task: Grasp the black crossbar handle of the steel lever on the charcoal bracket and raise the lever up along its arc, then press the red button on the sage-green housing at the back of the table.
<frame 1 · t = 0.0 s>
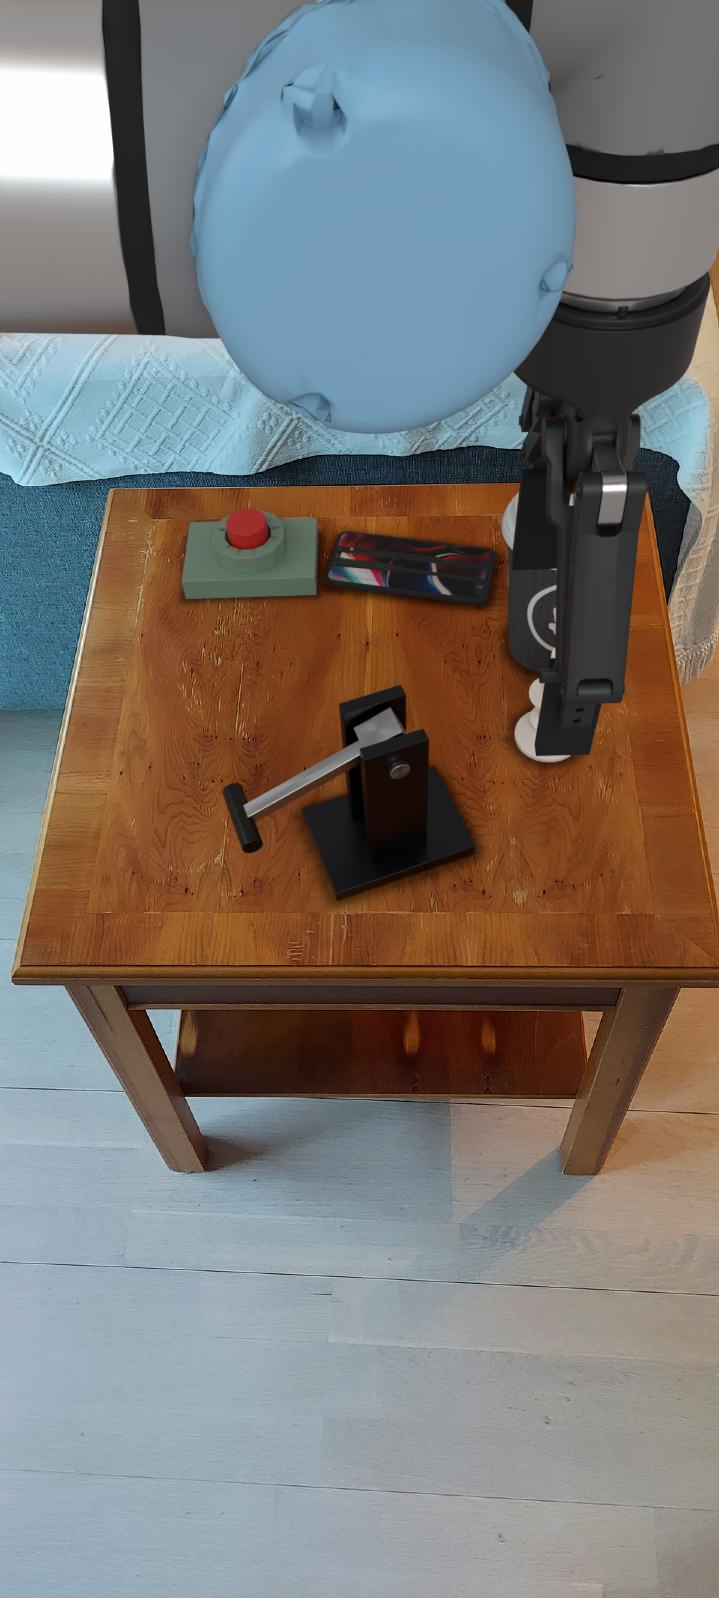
hand: (547, 651, 55), 23 cm above the table, tool pointing down, fingers open, 13 cm apart
smartphone: (410, 571, 92), on the table
candle: (546, 738, 81), on the table
button: (247, 529, 90), point 4 cm above the table, slide at 0.1 cm
coffee cup: (545, 646, 86), on the table
lever: (316, 775, 67), point 10 cm above the table, hinge at -20.0°
button box: (253, 566, 93), on the table
bracket: (387, 835, 76), on the table
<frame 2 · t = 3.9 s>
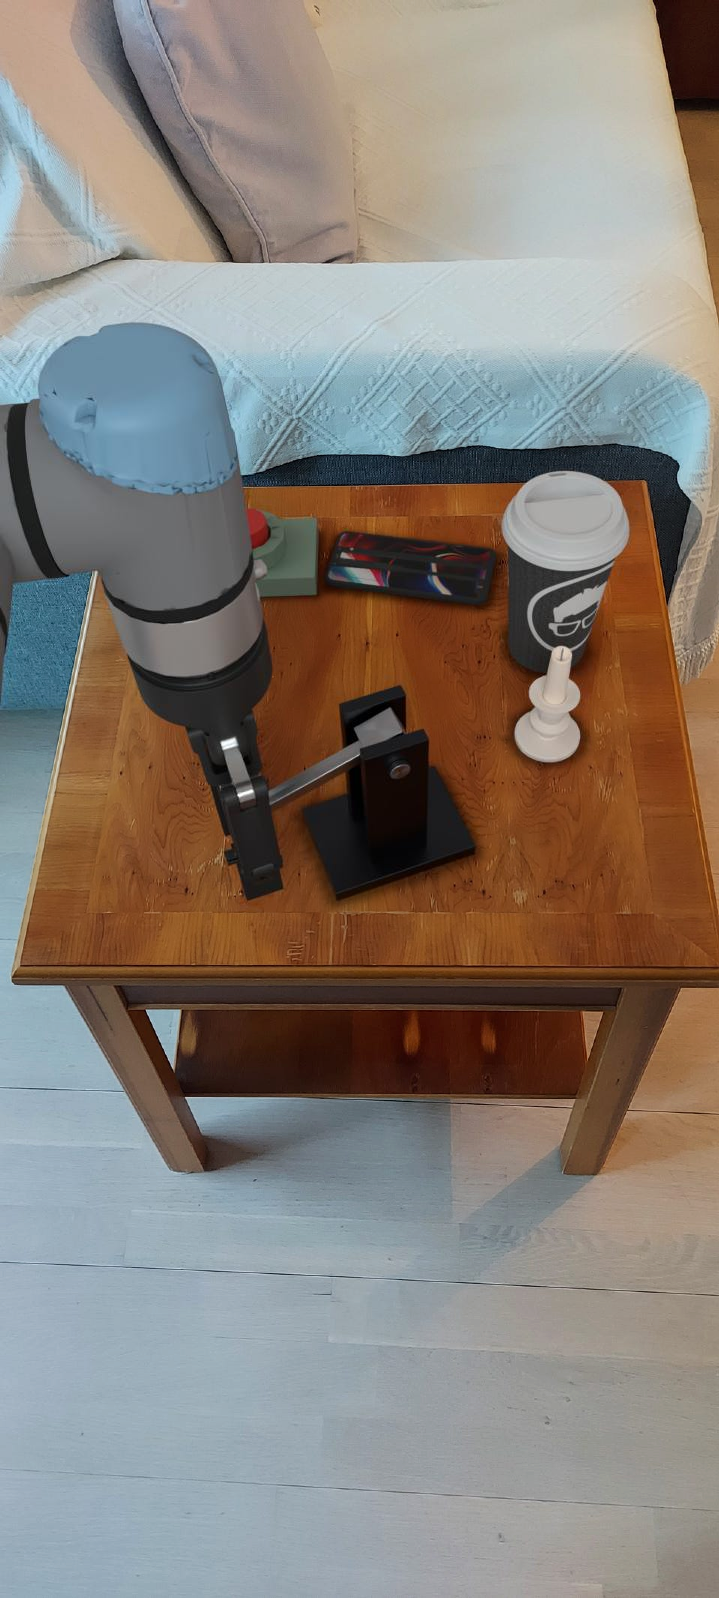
hand: (252, 857, 72), 3 cm above the table, tool pointing down, fingers closed on lever, 5 cm apart
lever: (316, 775, 67), point 10 cm above the table, hinge at -20.0°, touching gripper
everything else where it was.
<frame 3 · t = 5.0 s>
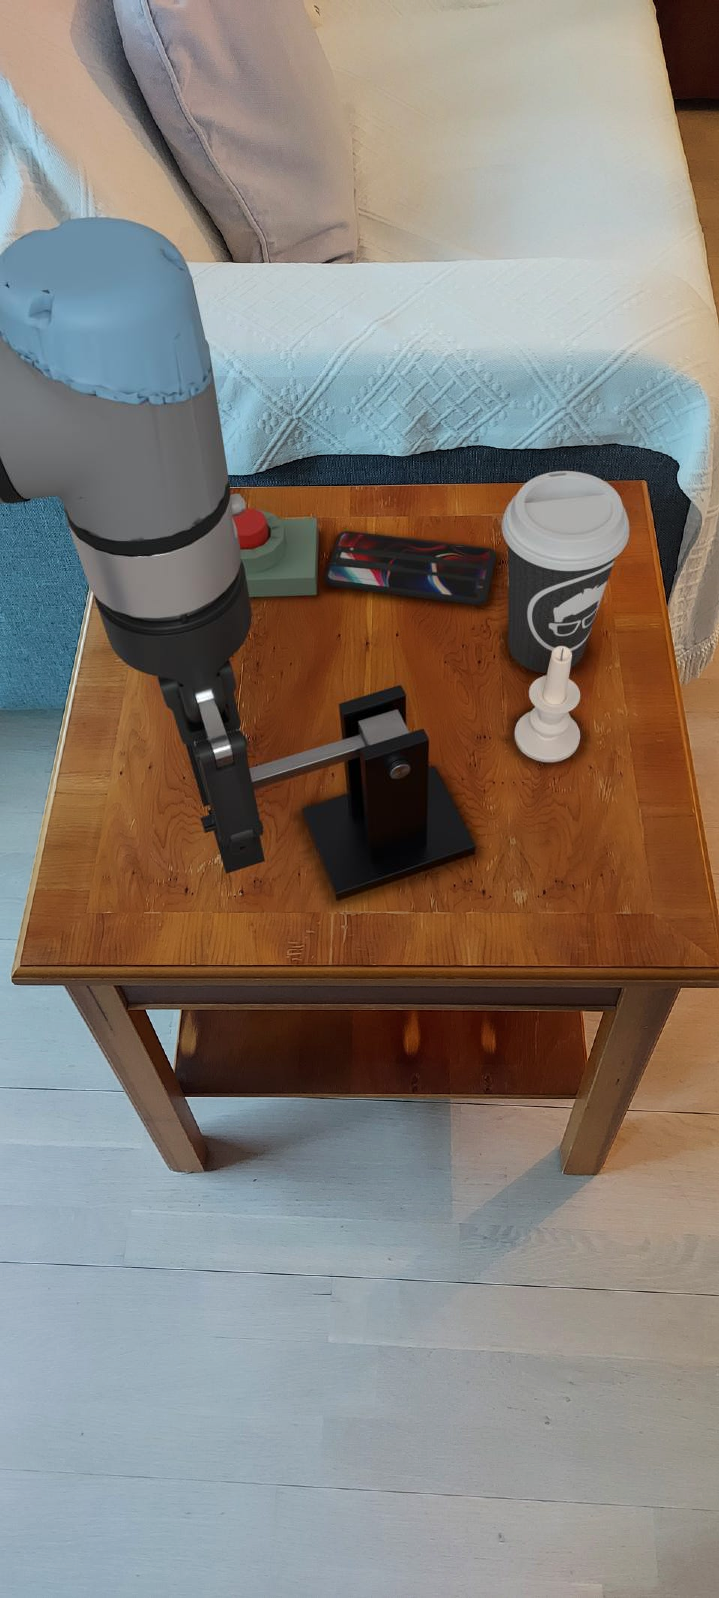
hand: (232, 828, 68), 7 cm above the table, tool pointing down, fingers closed on lever, 5 cm apart
lever: (310, 761, 65), point 12 cm above the table, hinge at 0.6°, touching gripper
everything else where it was.
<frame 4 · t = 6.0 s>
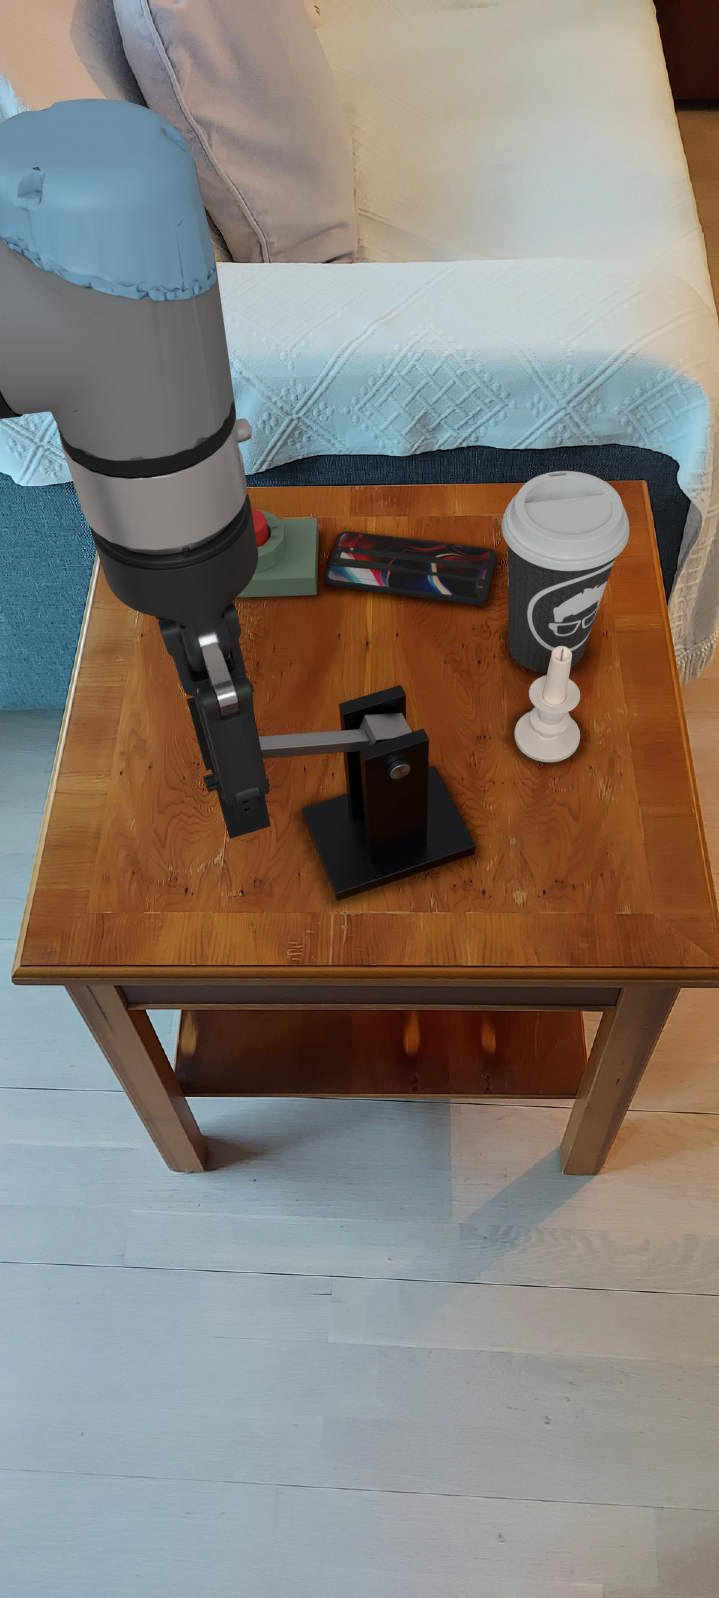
hand: (236, 793, 65), 11 cm above the table, tool pointing down, fingers closed on lever, 5 cm apart
lever: (312, 743, 64), point 14 cm above the table, hinge at 19.9°, touching gripper
everything else where it was.
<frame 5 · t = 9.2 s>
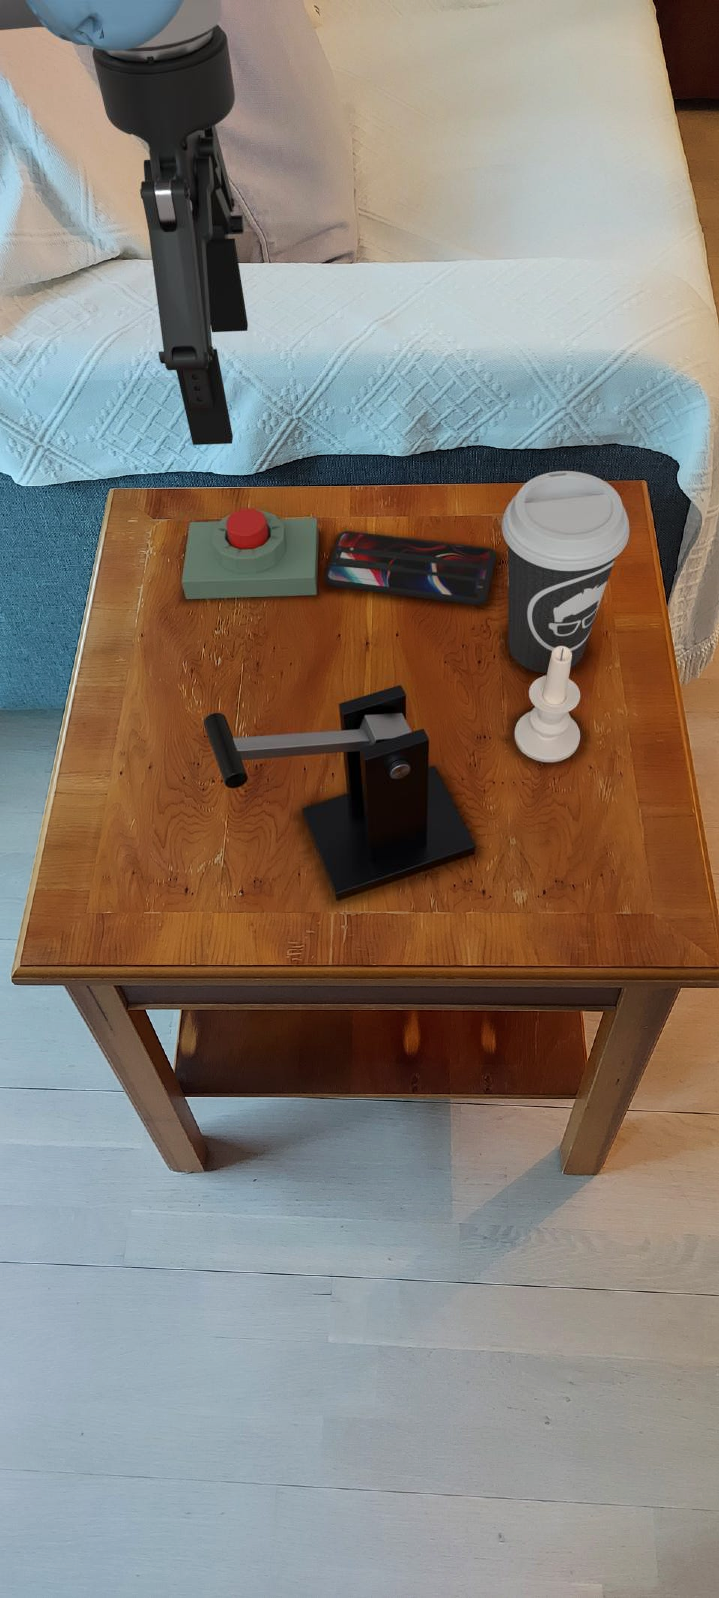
hand: (222, 382, 73), 22 cm above the table, tool pointing down, fingers open, 13 cm apart
lever: (312, 743, 64), point 14 cm above the table, hinge at 20.2°
everything else where it was.
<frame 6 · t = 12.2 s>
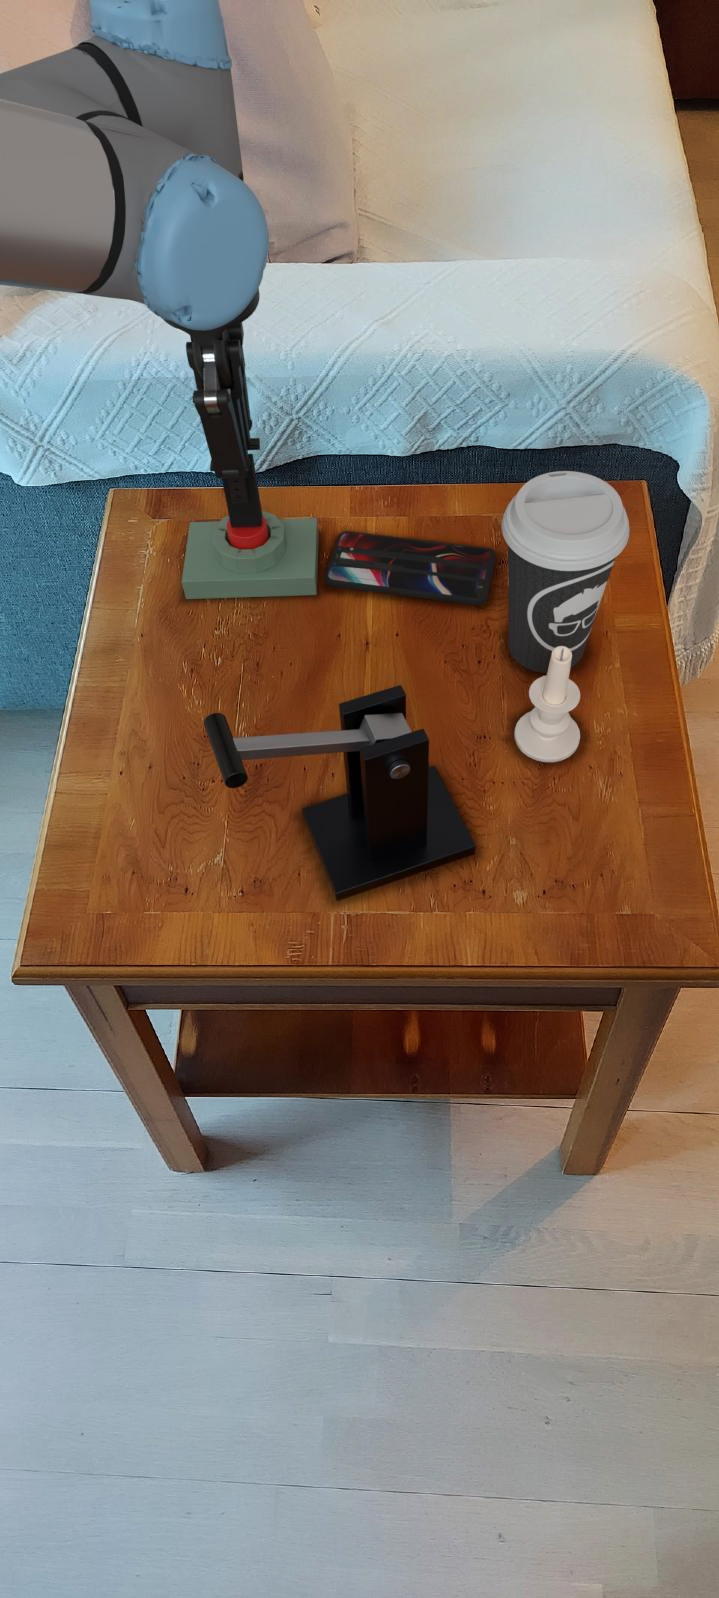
hand: (246, 521, 89), 5 cm above the table, tool pointing down, fingers closed
button: (247, 531, 90), point 4 cm above the table, slide at -0.2 cm, touching gripper
everything else where it was.
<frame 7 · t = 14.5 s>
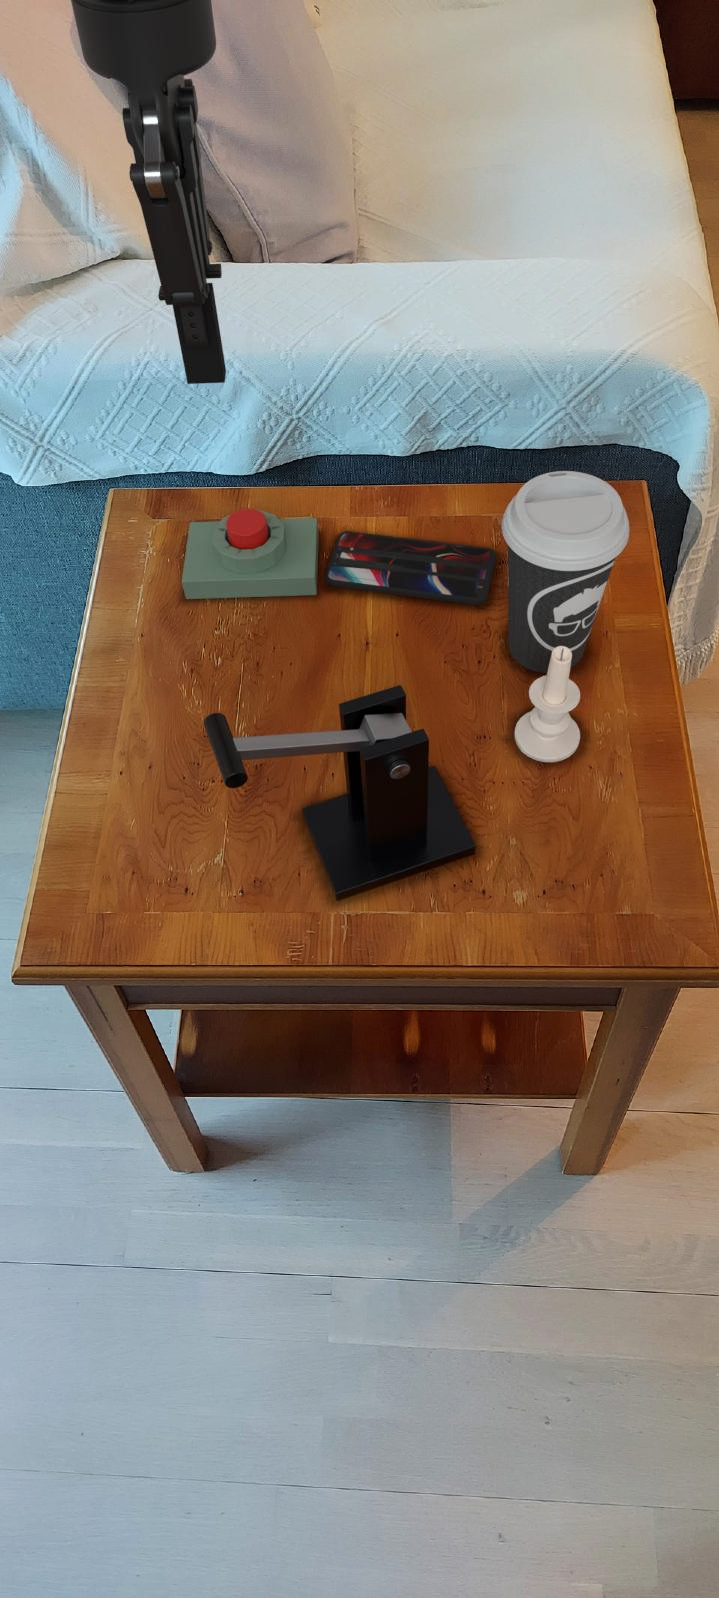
hand: (206, 376, 73), 22 cm above the table, tool pointing down, fingers closed
button: (247, 529, 90), point 4 cm above the table, slide at 0.1 cm
everything else where it was.
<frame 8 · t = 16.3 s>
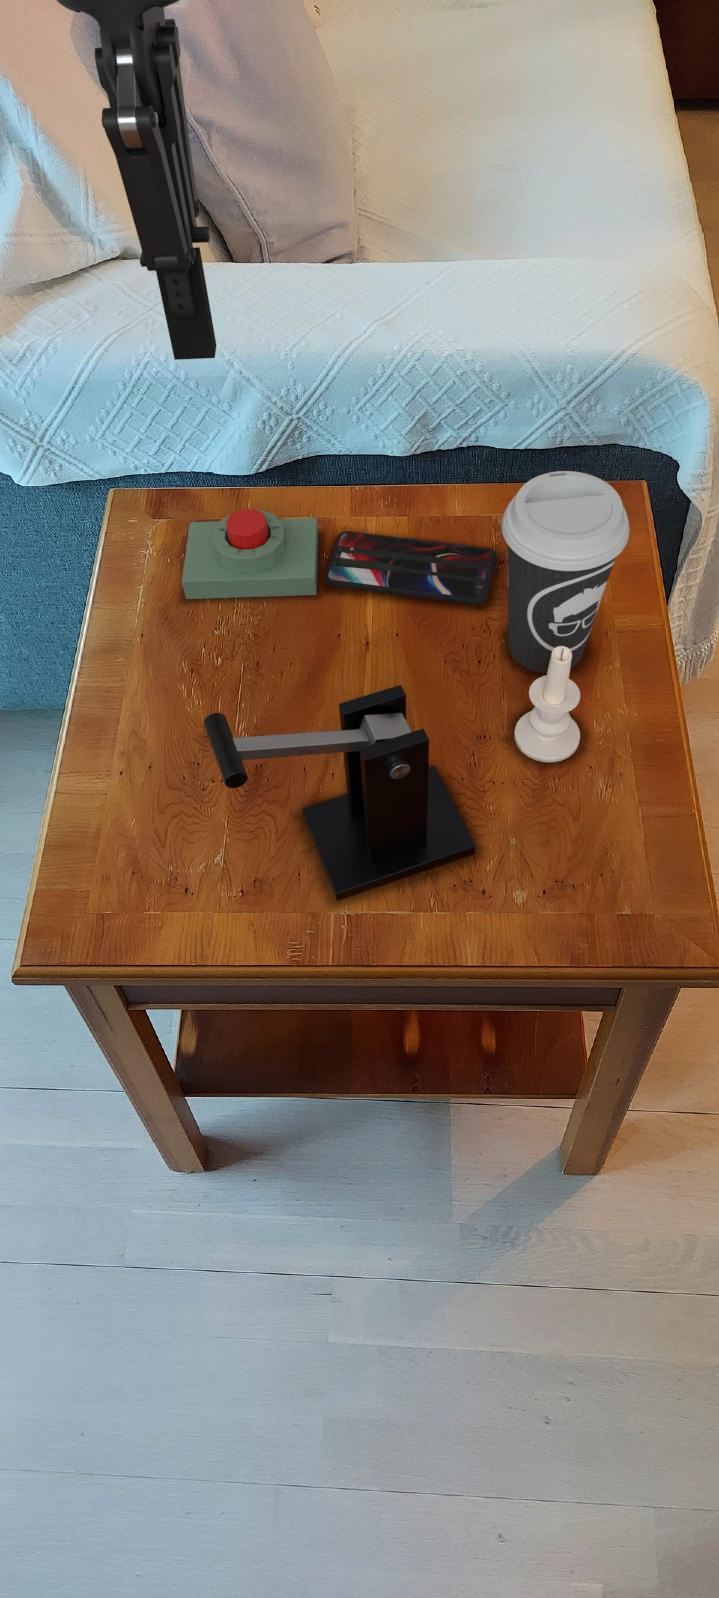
hand: (195, 352, 67), 26 cm above the table, tool pointing down, fingers closed
nothing on the table moved.
at the end: lever at +20° (first picture: -20°); button pushed in 1.0 cm at the most during the clip, back to where it started at the end; button slide at 0.1 cm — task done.
